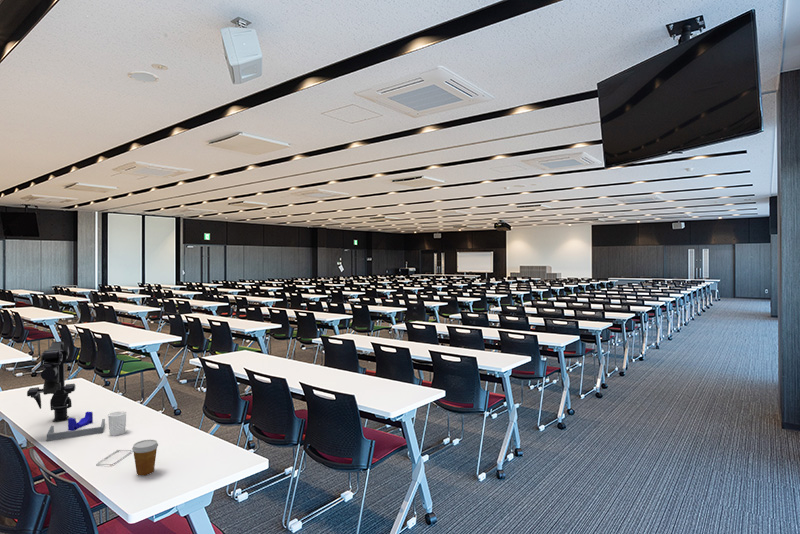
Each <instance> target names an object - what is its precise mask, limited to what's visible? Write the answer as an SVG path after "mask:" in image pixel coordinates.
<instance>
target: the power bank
mask: <svg viewBox="0 0 800 534" xmlns="http://www.w3.org/2000/svg"><path fill="white" fill-rule="evenodd" d="M119 451H120V452H123V451H124V452H127V453H125V455H123V456H122V457H120V458H119V459H117V460H115V461H114V462H112V463H101V462H103V461H105V459H106V460H108V459H109V458H110V457H112V456H113V454H114V453H115V454H117V453H120V452H119ZM116 452H117V453H116ZM131 452H132V453H134V452H133V450H132V449H116V450H115V451H113V452H112V453H110V454H109V455H107V456H105V457H104V458H102V459H101V460H100V461H97V462H96V463H95V467H100V466H99V465H113V464H115V463H116V462H118V461H119V460H121V459H122V458H123V459H125V458H126V457H128V456H129V455H131V454H132V453H131ZM130 453H131V454H130ZM115 454H114V455H115ZM111 455H112V456H111ZM127 455H128V456H127ZM125 456H126V457H125ZM108 457H109V458H108ZM124 457H125V458H124ZM123 459H122V460H123ZM122 460H121V461H122ZM119 462H120V461H119ZM119 462H118V463H119ZM116 464H117V463H116ZM116 464H115V465H116ZM113 466H114V465H113Z"/></svg>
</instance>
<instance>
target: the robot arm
mask: <svg viewBox="0 0 800 534" xmlns="http://www.w3.org/2000/svg"><path fill="white" fill-rule="evenodd" d="M69 356H70V348H69V345H66V344H65V343H64V341H53V342H51V344H50V346H49V349H45V350H44V351H43V352H42V353H41V357H40V367H43V369H42V371H41V373H40V377H41V379H43V380H44V384H43V388H40V386H37V387H30V388H29V389H28V390H27V392H26V396H27V397H30V398H31V399H34V400H35V401H36V404H37V405H38V408H39V409H42V397H41V394H42V393H43V395H44V396H46V395H52V396H51V398H50V401H49V404H50V405H49V406H50V411H53V413H54V416H53V417H54V418H53V420H52V423H54V422H55V423H56V422H62V421H68V419H69V418H70V416H69V415H68V409H70V408H72V405H73V404H72V399H71V397H70V396H69V394H72V393H73V392H75V390H76V384H75V383H67V384H65V382H66V381H65V379H66V378H65V377H66V376H65V375H66V374H65V363H66V361H67V360H68V358H69Z"/></svg>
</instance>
